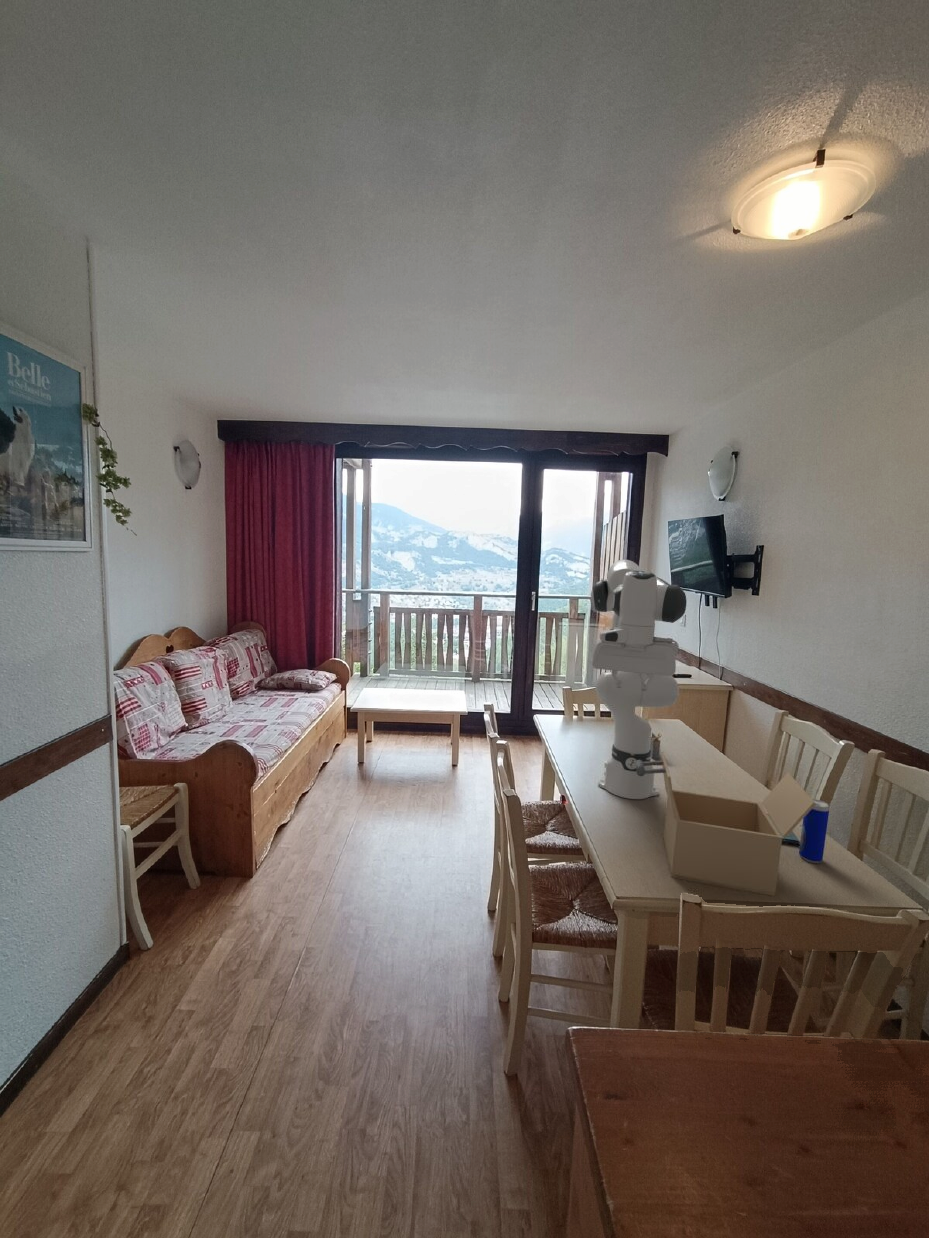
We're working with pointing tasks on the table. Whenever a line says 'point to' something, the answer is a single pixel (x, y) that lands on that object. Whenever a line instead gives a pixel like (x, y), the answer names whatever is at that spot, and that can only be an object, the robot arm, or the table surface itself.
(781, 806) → the flap
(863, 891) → the table surface
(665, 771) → the flap
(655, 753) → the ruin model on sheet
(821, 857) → the beverage can
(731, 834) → the carton
